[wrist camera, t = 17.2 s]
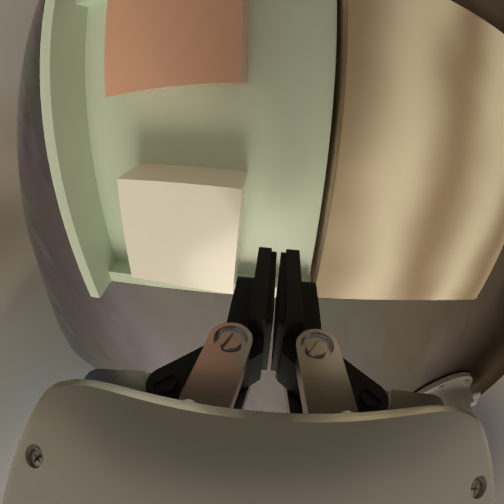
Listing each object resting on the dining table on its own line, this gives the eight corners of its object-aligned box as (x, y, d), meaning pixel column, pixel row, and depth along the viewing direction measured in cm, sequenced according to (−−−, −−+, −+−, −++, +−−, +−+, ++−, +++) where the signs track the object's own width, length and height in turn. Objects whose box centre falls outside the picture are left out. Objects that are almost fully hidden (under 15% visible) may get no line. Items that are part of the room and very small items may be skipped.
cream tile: (248, 171, 13) (242, 189, 11) (238, 266, 17) (232, 293, 15) (139, 163, 13) (116, 178, 11) (147, 252, 17) (132, 277, 15)
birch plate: (511, 59, 7) (538, 63, 5) (460, 275, 18) (475, 299, 16) (334, -19, 8) (346, -38, 6) (309, 267, 19) (312, 297, 16)
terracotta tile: (250, -22, 7) (244, -42, 5) (247, 84, 11) (240, 82, 9) (134, -4, 8) (109, -15, 6) (131, 93, 11) (105, 97, 9)
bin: (329, -20, 8) (349, -56, 4) (304, 267, 19) (310, 321, 15) (96, 5, 9) (46, -5, 5) (121, 253, 20) (90, 296, 16)
